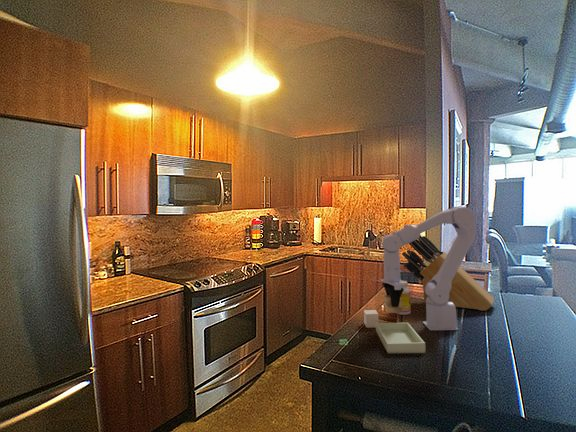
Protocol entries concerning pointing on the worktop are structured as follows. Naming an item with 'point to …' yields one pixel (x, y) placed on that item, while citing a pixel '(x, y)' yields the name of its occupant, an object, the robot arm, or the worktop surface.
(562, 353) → the worktop surface
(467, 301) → the knife block
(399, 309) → the oak block
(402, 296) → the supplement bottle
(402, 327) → the tote tray
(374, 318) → the cream box
